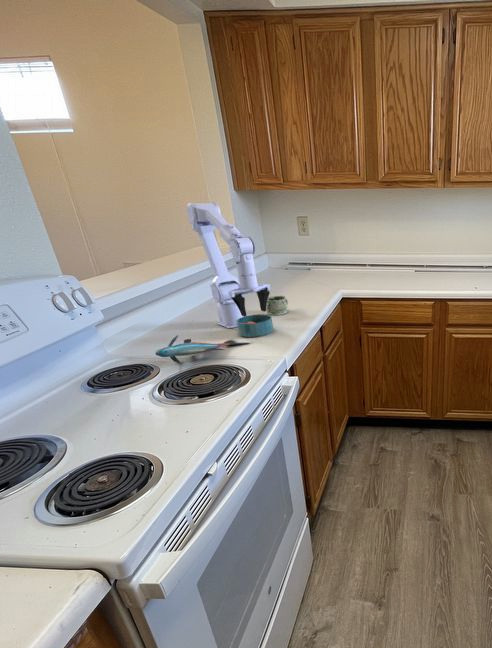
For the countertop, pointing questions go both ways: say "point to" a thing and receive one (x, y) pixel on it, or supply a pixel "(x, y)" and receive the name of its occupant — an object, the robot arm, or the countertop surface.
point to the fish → (189, 348)
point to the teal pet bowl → (255, 325)
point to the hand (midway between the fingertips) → (253, 313)
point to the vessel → (276, 305)
